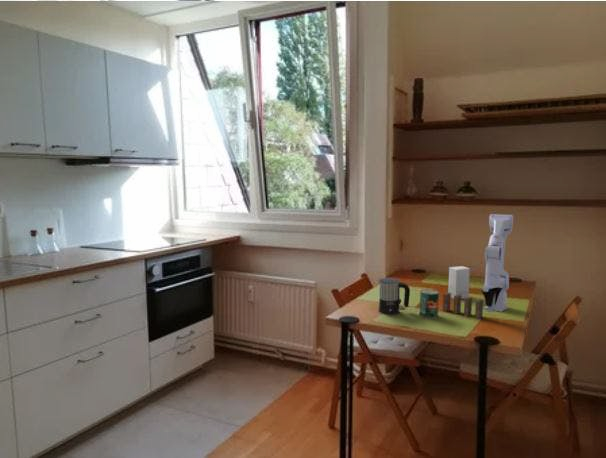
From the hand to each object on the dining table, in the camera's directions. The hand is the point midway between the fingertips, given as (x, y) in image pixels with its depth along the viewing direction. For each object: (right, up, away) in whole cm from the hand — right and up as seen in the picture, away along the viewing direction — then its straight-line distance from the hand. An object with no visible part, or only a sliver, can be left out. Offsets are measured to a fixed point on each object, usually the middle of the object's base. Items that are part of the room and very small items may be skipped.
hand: (491, 305), depth 194 cm
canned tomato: (-25, -6, +7) cm, 26 cm away
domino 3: (-7, -6, +8) cm, 12 cm away
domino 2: (-11, -5, +11) cm, 16 cm away
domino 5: (0, -2, 0) cm, 2 cm away
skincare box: (-1, -3, +37) cm, 37 cm away
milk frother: (-40, -5, +16) cm, 43 cm away
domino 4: (-4, -6, +4) cm, 8 cm away
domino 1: (-14, -5, +15) cm, 21 cm away
